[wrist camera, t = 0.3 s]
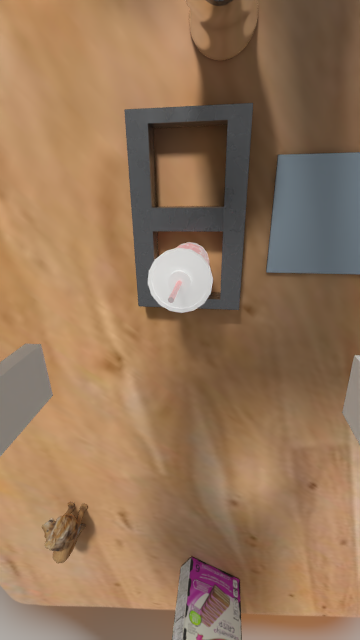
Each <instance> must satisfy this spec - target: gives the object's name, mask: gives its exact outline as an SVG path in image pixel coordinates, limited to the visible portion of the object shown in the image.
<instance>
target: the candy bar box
mask: <svg viewBox="0 0 360 640" xmlns="http://www.w3.org/2000/svg"><path fill="white" fill-rule="evenodd" d="M172 640H242V635H241V605H240V580H239V579H238V578H235V577H233V576H231V575H229V574H227V573H225V572H223V571H221V570H219V569H216V568H214V567H212V566H210V565H208V564H206V563H204V562H202V561H200V560H198V559H195V558H193V557H190V558H189V559H188V561H187V562H186V563H185V564H184V565H183V566H182V567H181V569H180V578H179V586H178V595H177V603H176V611H175V620H174V627H173V636H172Z"/></svg>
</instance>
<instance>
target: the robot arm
mask: <svg viewBox="0 0 360 640" xmlns="http://www.w3.org/2000/svg"><path fill="white" fill-rule="evenodd" d="M52 396H53V394H52V390H51V386H50V381H49V377H48V373H47V368H46V364H45V360H44V355H43V351H42V347H41V344H24V345H23V346H22V347H20V348H19V349H18V350H16V351H15V352H14V353H12V354H11V355H9V356H8V357H7V358H5V359H4V360H3V361H1V362H0V456H1V455H2V454H3V453H4V452H5V450H6V449H7V448H8V447H9V446H10V445H11V443H12V442H13V441H14V440H15V439H16V438H17V436H18V435H19V434H20V433H21V432H22V431H23V429H24V428H25V427H26V426H27V425H28V424H29V423H30V421H31V420H32V419H33V418H34V417H35V416H36V414H37V413H38V412H39V411H40V410H41V409H42V407H43V406H44V405H45V404H46V403H47V402H48V400H49V399H50V398H51V397H52ZM342 413H343V415H344V417H345V419H346V421H347V422H348V424H349V426H350V428H351V430H352V432H353V433H354V435H355V437H356V439H357V441H358V443H359V444H360V355H354V359H353V364H352V369H351V374H350V378H349V383H348V388H347V393H346V397H345V402H344V407H343V412H342Z"/></svg>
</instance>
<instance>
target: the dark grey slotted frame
mask: <svg viewBox="0 0 360 640" xmlns="http://www.w3.org/2000/svg"><path fill="white" fill-rule="evenodd" d="M252 112H253V103H244V104H224V105H205V106H185V107H166V108H146V109H127V110H125V123H126V137H127V151H128V165H129V179H130V193H131V207H132V221H133V235H134V249H135V263H136V277H137V291H138V305H139V306H146V307H162V306H161V305H159V304H158V303H157V301H156V300H155V299H154V298H153V296H152V295H151V292H150V289H149V286H148V274H149V269H150V268H151V266H152V264H153V262H154V260H155V259H156V258H158V257H159V253H158V231H223V247H222V271H221V293H211V294H210V295H209V297H208V298H207V300H206V301H205V303H204V304H203V305H201V306H200V307H198V308H201V309H229V310H239V302H240V288H241V273H242V258H243V244H244V229H245V214H246V200H247V185H248V171H249V156H250V141H251V127H252ZM221 125H228V127H227V151H226V175H225V199H224V206H180V207H157V205H156V180H155V156H154V131H153V128H173V127H197V126H221Z"/></svg>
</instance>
